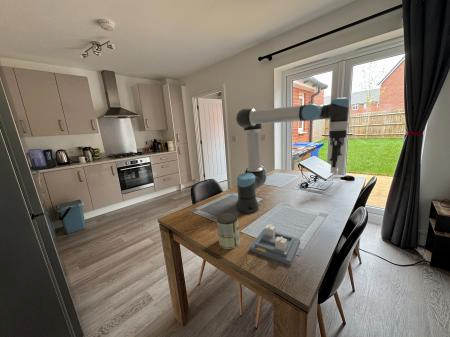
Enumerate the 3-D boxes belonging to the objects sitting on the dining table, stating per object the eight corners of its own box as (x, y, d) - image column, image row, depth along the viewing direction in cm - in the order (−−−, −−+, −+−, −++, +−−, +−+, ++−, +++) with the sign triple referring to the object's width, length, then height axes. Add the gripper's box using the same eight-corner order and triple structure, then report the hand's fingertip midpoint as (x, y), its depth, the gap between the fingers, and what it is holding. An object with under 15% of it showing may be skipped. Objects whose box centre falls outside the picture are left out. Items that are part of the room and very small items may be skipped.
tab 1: (265, 236, 88) (264, 226, 86) (267, 233, 90) (267, 223, 89) (273, 239, 85) (273, 228, 84) (275, 235, 88) (275, 225, 86)
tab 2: (275, 250, 78) (275, 238, 77) (277, 246, 80) (277, 234, 79) (284, 253, 76) (284, 241, 74) (286, 249, 78) (286, 237, 77)
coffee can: (218, 237, 94) (216, 212, 91) (238, 235, 94) (236, 210, 91) (218, 250, 84) (216, 223, 81) (241, 248, 84) (239, 221, 81)
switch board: (249, 250, 82) (249, 244, 81) (263, 232, 95) (263, 226, 94) (290, 265, 72) (290, 258, 71) (300, 242, 85) (300, 236, 84)
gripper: (344, 131, 81) (341, 177, 87) (348, 128, 101) (345, 165, 106) (325, 132, 86) (323, 175, 91) (332, 128, 105) (330, 164, 110)
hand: (335, 170), depth 98 cm, fingers open, 13 cm apart
